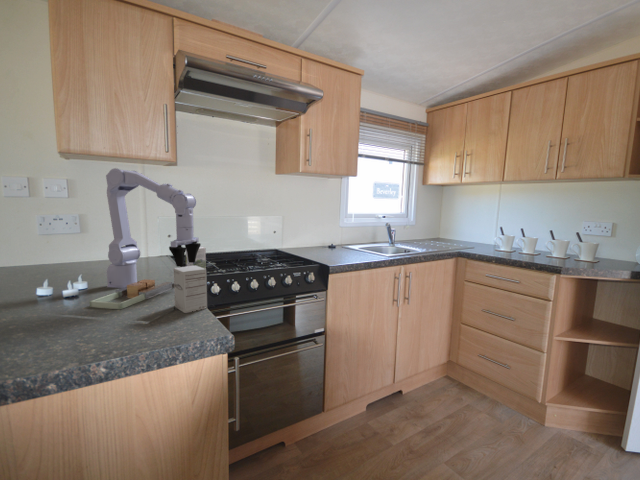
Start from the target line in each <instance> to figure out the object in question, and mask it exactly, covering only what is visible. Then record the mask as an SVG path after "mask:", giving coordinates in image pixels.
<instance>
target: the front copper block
mask: <svg viewBox="0 0 640 480" xmlns="http://www.w3.org/2000/svg"><path fill="white" fill-rule="evenodd" d="M143 290H146V283H138V281H137V282H135V283H132V284H129V285H127V296H128V297H136V296H139V292H141V291H143Z"/></svg>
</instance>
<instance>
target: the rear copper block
mask: <svg viewBox="0 0 640 480" xmlns="http://www.w3.org/2000/svg"><path fill="white" fill-rule="evenodd" d="M137 282H138V283H146V289H149V288H151V287H154V286H156V280H155V279H146V278H145V279H142V280H139V281H138V280H137Z"/></svg>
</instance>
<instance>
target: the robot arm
mask: <svg viewBox="0 0 640 480" xmlns="http://www.w3.org/2000/svg"><path fill="white" fill-rule="evenodd" d="M105 178H106V185H107V187H106V196H107V197H106V198H107V203H108V208H109V209H108V210H109V214H110V215H109V217H110V221H111V227H112V228H111V229H112V234H113V240H111V242H110V243H109V244H108V252H107V258H108V261H110V264H109V265H108V266H107V269H106V280H107V281H106V282H107V286H106V287H105V288H116V289H117V288H118V289H122V288H125V287H127V285H129V284H132V283H135V282H138V275H137V274H138V273H137V263H138V260H139V258H140V257H141V251H140V248H139V246H138V244H137V243H138V242H137V241H136V240H135V239H134V238H132V234H131V228H130V223H129V217H128V216H129V215H128V211H127V203H126V199H125V198H126V196H127V194H128V193H130V192H132V191H133V190H135V189H136V188H139V187H143V188H145V189H147V190H149V191H152V192H154V193H156V196H157V198H158V199H161V200H162V201H163V202H166V203H168V204H170V205H172V207H173V209H174V212H175V221H176V222H175V225H176V226H175V227H176V228H175V229H176V239H175V240H172V241H170V245H169V247H168V249H169V251H170V253H171V255H172V257H173V259H174V261H175V265H176V267H184V263H185V262H184V261H185V255H186V250H187V254H188V261H189V262H190V263H194V262H195V259H196V255H197V252H198V249H199V247H200V246H201V244H202V243H199V237H198V236H197V237H195V233H194V209H195V207H196V205H197V200H196V197H195V196H194V195H192V193H184V190H183V189H177V188H175V187H173V184H171V183H161V184H160V183H159V182H156V181H155V180H153V179H152V178H149V177H148V176H146V175H145V174H143V173H141V172H139V171H137V170H128V169H120V168H117V167H115V168H111V169H110V170H109V172H108V173H107V174H106V175H105ZM201 247H202V246H201Z"/></svg>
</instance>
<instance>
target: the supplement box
mask: <svg viewBox="0 0 640 480" xmlns="http://www.w3.org/2000/svg"><path fill="white" fill-rule="evenodd" d="M207 281H208V279H207V268H206V269H204V268H201V267H199V266H196V265H195V266H186V265H185V266H182V267H180V266H178V267H174V268H173V284H174V285H173V287H174V288H173V289H174V307H175V308H176V309H178V310H179V311H181V312H182V313H184V314H187V313H193V312H196V310H198V311H201V310H200V309H202V310H205V307H206V309H208V292H207V291H208V286H207V285H208V284H207ZM192 311H193V312H192Z"/></svg>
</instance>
